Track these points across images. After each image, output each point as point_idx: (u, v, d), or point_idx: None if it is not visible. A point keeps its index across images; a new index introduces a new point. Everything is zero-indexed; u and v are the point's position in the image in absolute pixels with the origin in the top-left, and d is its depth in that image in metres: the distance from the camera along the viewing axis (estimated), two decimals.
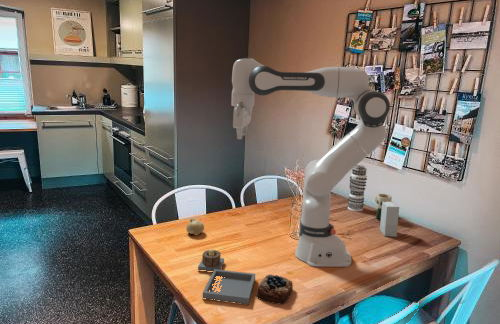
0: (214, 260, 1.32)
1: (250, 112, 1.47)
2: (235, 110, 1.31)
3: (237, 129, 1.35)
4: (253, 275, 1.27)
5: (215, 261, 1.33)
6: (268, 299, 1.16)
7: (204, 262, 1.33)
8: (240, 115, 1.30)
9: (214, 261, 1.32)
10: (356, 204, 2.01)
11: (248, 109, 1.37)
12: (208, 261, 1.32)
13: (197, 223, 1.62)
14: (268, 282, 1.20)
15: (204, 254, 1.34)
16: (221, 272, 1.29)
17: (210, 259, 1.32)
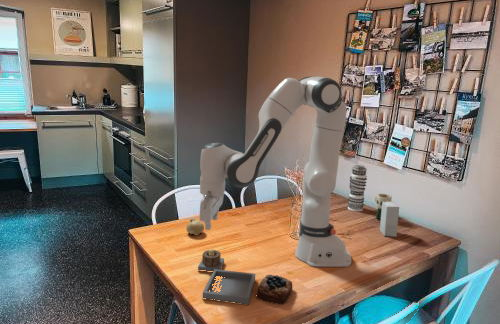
0: (214, 260, 1.32)
1: (222, 194, 1.38)
2: (202, 203, 1.21)
3: (205, 220, 1.25)
4: (253, 275, 1.27)
5: (215, 261, 1.33)
6: (268, 299, 1.15)
7: (204, 262, 1.33)
8: (207, 208, 1.21)
9: (214, 261, 1.32)
10: (356, 204, 2.01)
11: (217, 197, 1.28)
12: (208, 261, 1.32)
13: (197, 223, 1.62)
14: (268, 282, 1.20)
15: (204, 254, 1.34)
16: (221, 272, 1.29)
17: (210, 259, 1.32)
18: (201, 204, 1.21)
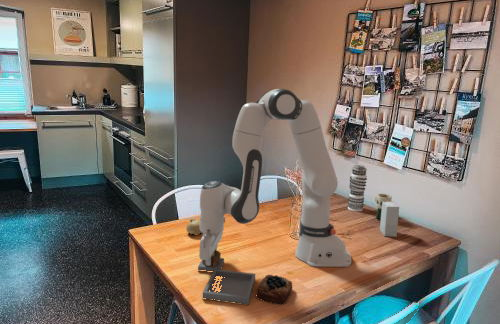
0: (214, 260, 1.32)
1: None
2: (201, 242, 1.24)
3: None
4: (253, 275, 1.27)
5: (215, 261, 1.33)
6: (268, 299, 1.15)
7: (204, 262, 1.33)
8: (207, 247, 1.24)
9: (214, 261, 1.32)
10: (356, 204, 2.01)
11: (217, 234, 1.31)
12: None
13: (197, 223, 1.62)
14: (268, 282, 1.20)
15: None
16: (221, 272, 1.29)
17: None
18: (201, 243, 1.24)
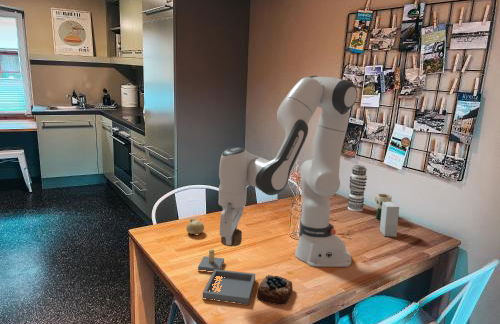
0: (235, 239, 1.15)
1: None
2: (222, 216, 1.07)
3: None
4: (253, 275, 1.27)
5: (236, 240, 1.15)
6: (269, 300, 1.15)
7: (223, 241, 1.16)
8: (228, 223, 1.07)
9: (235, 240, 1.15)
10: (356, 204, 2.01)
11: (239, 209, 1.14)
12: None
13: (197, 223, 1.62)
14: (268, 283, 1.20)
15: None
16: (221, 272, 1.29)
17: None
18: (221, 218, 1.07)
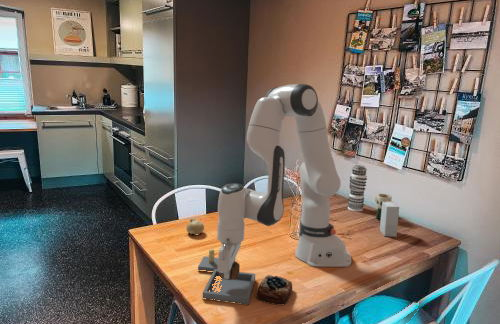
0: (233, 273, 1.18)
1: None
2: (220, 253, 1.10)
3: None
4: (253, 275, 1.27)
5: (234, 274, 1.18)
6: (268, 300, 1.15)
7: (221, 275, 1.19)
8: (226, 259, 1.09)
9: (233, 274, 1.18)
10: (356, 204, 2.01)
11: (237, 244, 1.16)
12: None
13: (197, 223, 1.62)
14: (268, 283, 1.20)
15: None
16: None
17: None
18: (219, 254, 1.10)
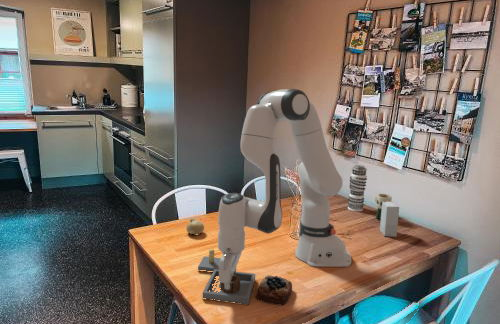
0: (234, 286, 1.19)
1: None
2: (221, 263, 1.10)
3: None
4: (253, 275, 1.27)
5: (235, 287, 1.19)
6: (268, 300, 1.15)
7: (222, 288, 1.20)
8: (227, 269, 1.10)
9: (234, 287, 1.19)
10: (356, 204, 2.01)
11: (237, 253, 1.17)
12: None
13: (197, 223, 1.62)
14: (268, 283, 1.19)
15: None
16: None
17: None
18: (220, 264, 1.10)
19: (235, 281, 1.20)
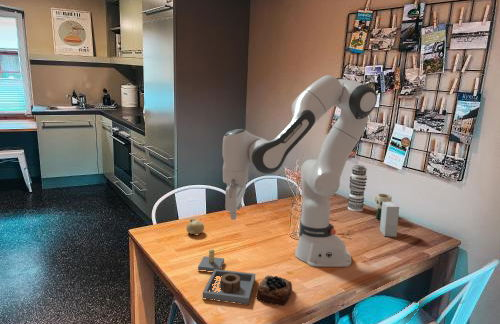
0: (234, 286, 1.19)
1: (244, 183, 1.33)
2: (227, 191, 1.17)
3: None
4: (253, 275, 1.27)
5: (235, 287, 1.19)
6: (268, 300, 1.15)
7: (222, 288, 1.20)
8: (233, 197, 1.16)
9: (234, 287, 1.19)
10: (356, 204, 2.01)
11: (242, 185, 1.23)
12: (228, 287, 1.19)
13: (197, 223, 1.62)
14: (268, 283, 1.19)
15: (222, 279, 1.21)
16: (221, 272, 1.29)
17: (229, 285, 1.18)
18: (226, 193, 1.17)
19: (235, 281, 1.20)
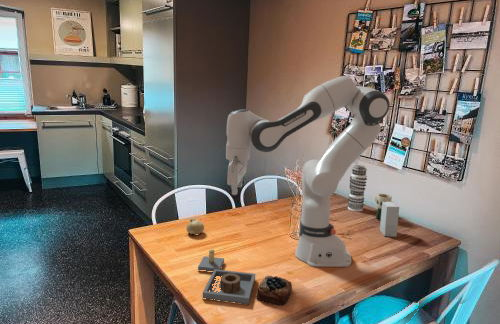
0: (234, 286, 1.19)
1: (246, 162, 1.40)
2: (229, 166, 1.23)
3: (232, 185, 1.27)
4: (253, 275, 1.27)
5: (235, 287, 1.19)
6: (268, 301, 1.15)
7: (222, 288, 1.20)
8: (235, 172, 1.23)
9: (234, 287, 1.19)
10: (356, 204, 2.01)
11: (243, 163, 1.30)
12: (228, 287, 1.19)
13: (197, 223, 1.62)
14: (268, 283, 1.19)
15: (222, 279, 1.21)
16: (221, 272, 1.29)
17: (229, 285, 1.18)
18: (229, 168, 1.23)
19: (235, 281, 1.20)
